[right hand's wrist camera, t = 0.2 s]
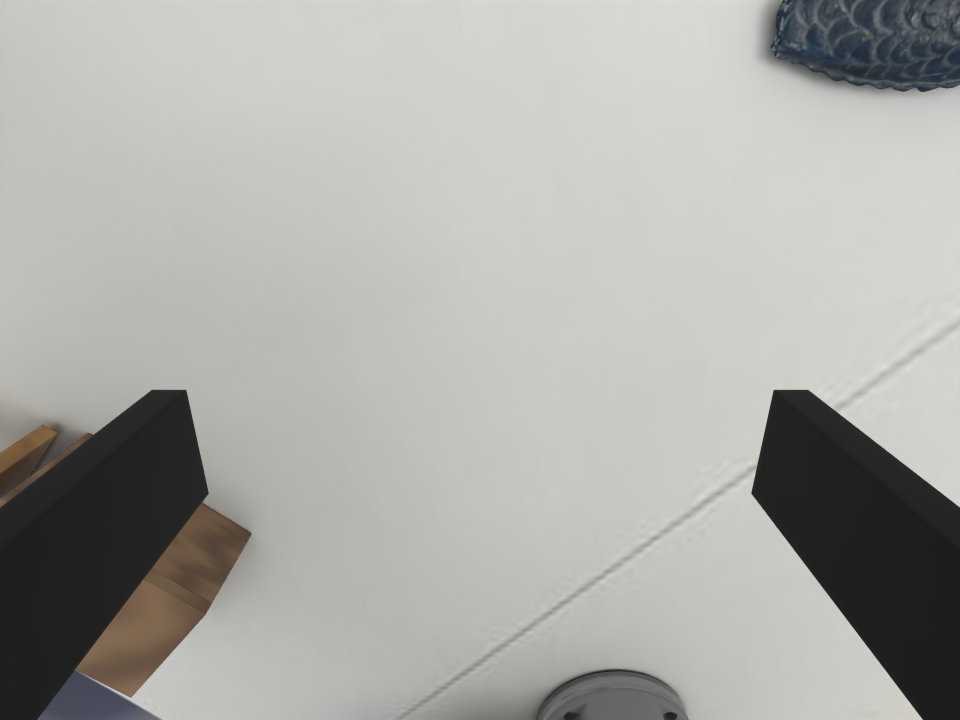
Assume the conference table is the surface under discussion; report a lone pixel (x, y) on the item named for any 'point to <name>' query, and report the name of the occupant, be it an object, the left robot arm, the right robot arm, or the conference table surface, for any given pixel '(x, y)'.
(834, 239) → the conference table surface
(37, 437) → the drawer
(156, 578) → the wooden grain block
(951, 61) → the fish model
